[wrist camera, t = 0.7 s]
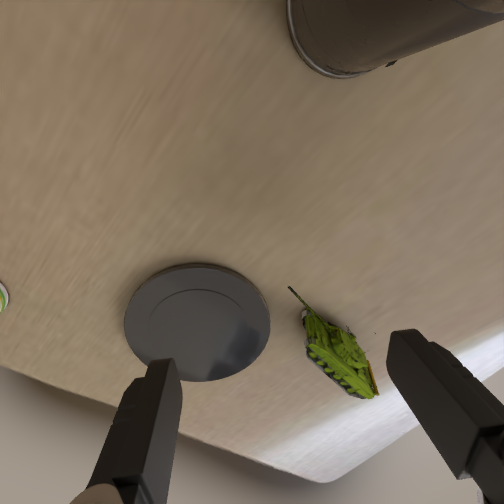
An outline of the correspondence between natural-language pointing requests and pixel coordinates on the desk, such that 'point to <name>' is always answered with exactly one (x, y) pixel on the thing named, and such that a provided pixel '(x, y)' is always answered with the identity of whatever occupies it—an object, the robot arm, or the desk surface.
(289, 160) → the desk surface
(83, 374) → the desk surface
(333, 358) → the toy tank
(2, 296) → the supplement bottle
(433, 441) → the robot arm
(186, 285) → the plate
